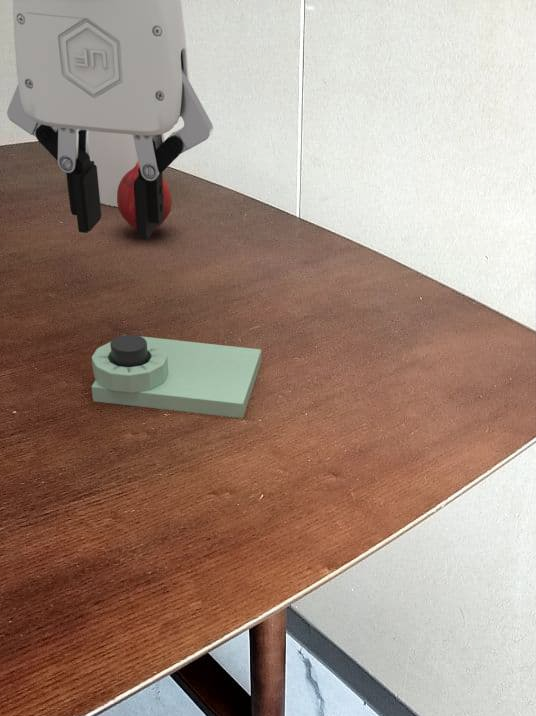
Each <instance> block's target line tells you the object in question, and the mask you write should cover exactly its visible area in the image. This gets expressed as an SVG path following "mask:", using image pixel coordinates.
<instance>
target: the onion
mask: <svg viewBox="0 0 536 716" xmlns="http://www.w3.org/2000/svg"><path fill="white" fill-rule="evenodd" d="M139 168H140V167H139V162H138V160H137V163H136V166H135V167H134V168H133V169H132V170H130V171H129V172H128V173H126V174H125V176H124V177H123V178H122V180H121V181H120V184H119V186H118V191H117V204H118V207H117V208H118V211H119V214H120V215H121V217H122V218H123V219H124V220H125V221H126V222H127V223H128V225H130V226H131V227H132V228H133V229H135V230H137V227H136V213H135V198H134V181H135V180H136V178H137V177H138V176H139V172H138V169H139ZM162 178H163V198H164V218H163V221H162V223H161V224H158V225H157V227H156V228H155V230H156V229H157V228H159V227H160V226H161V225H163V223H164V222H165V220H166V219H167V218H168V216H169V215H170V213H171V210H172V206H173V205H172V204H173V202H172V194H171V190H170V187H169V185H168V183H167V181H166V180H165V178H164V177H163V176H162Z"/></svg>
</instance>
